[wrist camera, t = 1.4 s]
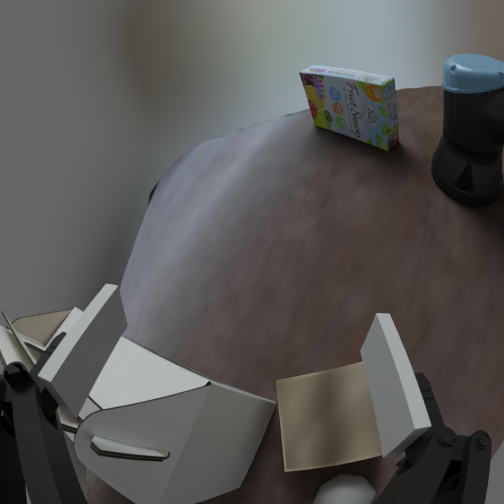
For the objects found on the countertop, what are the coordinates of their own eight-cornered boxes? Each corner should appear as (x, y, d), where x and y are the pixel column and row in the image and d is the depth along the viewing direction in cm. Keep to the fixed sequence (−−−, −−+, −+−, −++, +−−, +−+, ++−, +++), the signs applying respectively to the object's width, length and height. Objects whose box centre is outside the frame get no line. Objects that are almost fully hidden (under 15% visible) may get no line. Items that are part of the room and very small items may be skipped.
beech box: (370, 369, 30) (372, 358, 25) (384, 447, 24) (389, 452, 19) (289, 387, 32) (275, 380, 28) (297, 464, 26) (284, 471, 21)
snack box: (400, 140, 50) (395, 76, 38) (388, 153, 49) (381, 85, 38) (327, 116, 63) (312, 63, 52) (313, 126, 63) (296, 71, 51)
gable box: (279, 403, 32) (102, 330, 10) (241, 489, 26) (37, 528, 5) (155, 351, 42) (9, 259, 21) (125, 418, 37) (-33, 361, 15)
